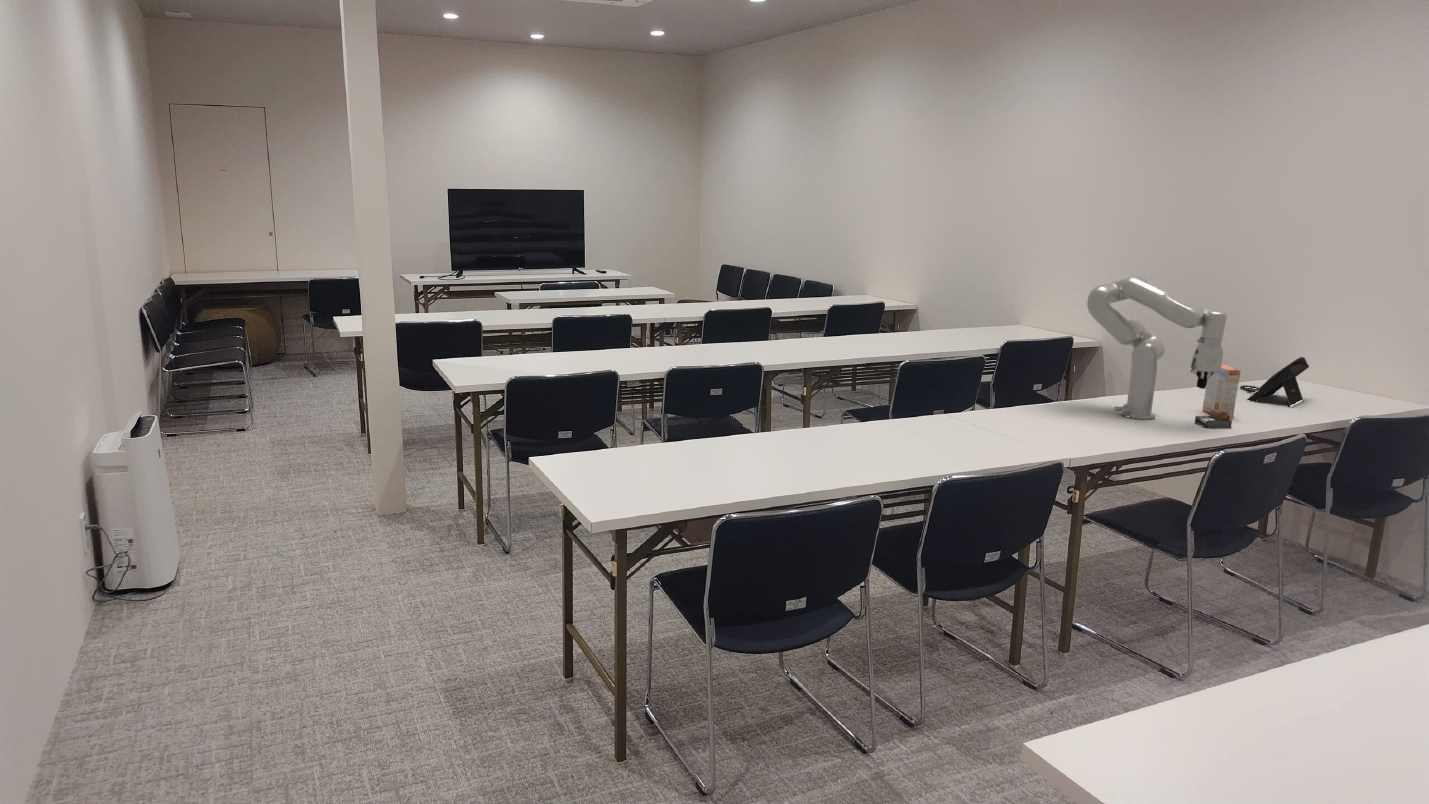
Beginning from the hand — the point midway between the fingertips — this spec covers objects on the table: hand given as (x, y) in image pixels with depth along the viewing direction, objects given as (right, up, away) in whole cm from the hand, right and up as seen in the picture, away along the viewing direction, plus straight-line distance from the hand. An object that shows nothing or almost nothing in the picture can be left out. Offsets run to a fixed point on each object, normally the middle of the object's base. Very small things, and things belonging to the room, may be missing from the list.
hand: (1200, 387), depth 353 cm
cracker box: (+18, -11, +20) cm, 29 cm away
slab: (+8, -12, +3) cm, 15 cm away
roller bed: (+7, -15, +4) cm, 17 cm away
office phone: (+59, -4, +54) cm, 80 cm away
